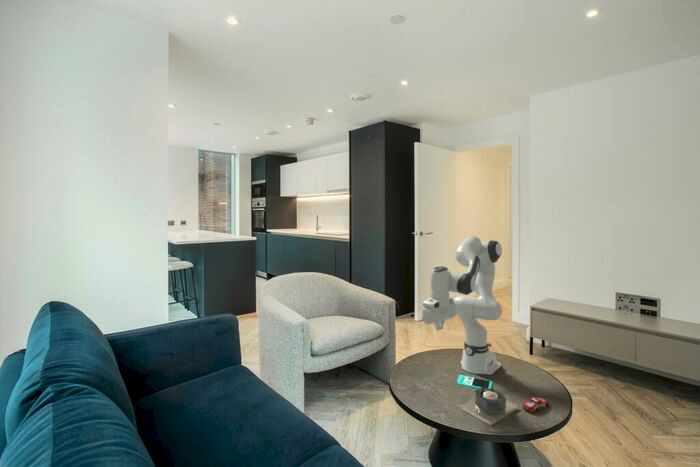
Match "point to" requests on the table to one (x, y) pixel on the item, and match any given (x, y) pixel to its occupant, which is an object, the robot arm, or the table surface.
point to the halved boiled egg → (490, 395)
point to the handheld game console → (473, 382)
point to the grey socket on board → (489, 406)
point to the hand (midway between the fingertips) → (439, 329)
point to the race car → (535, 404)
